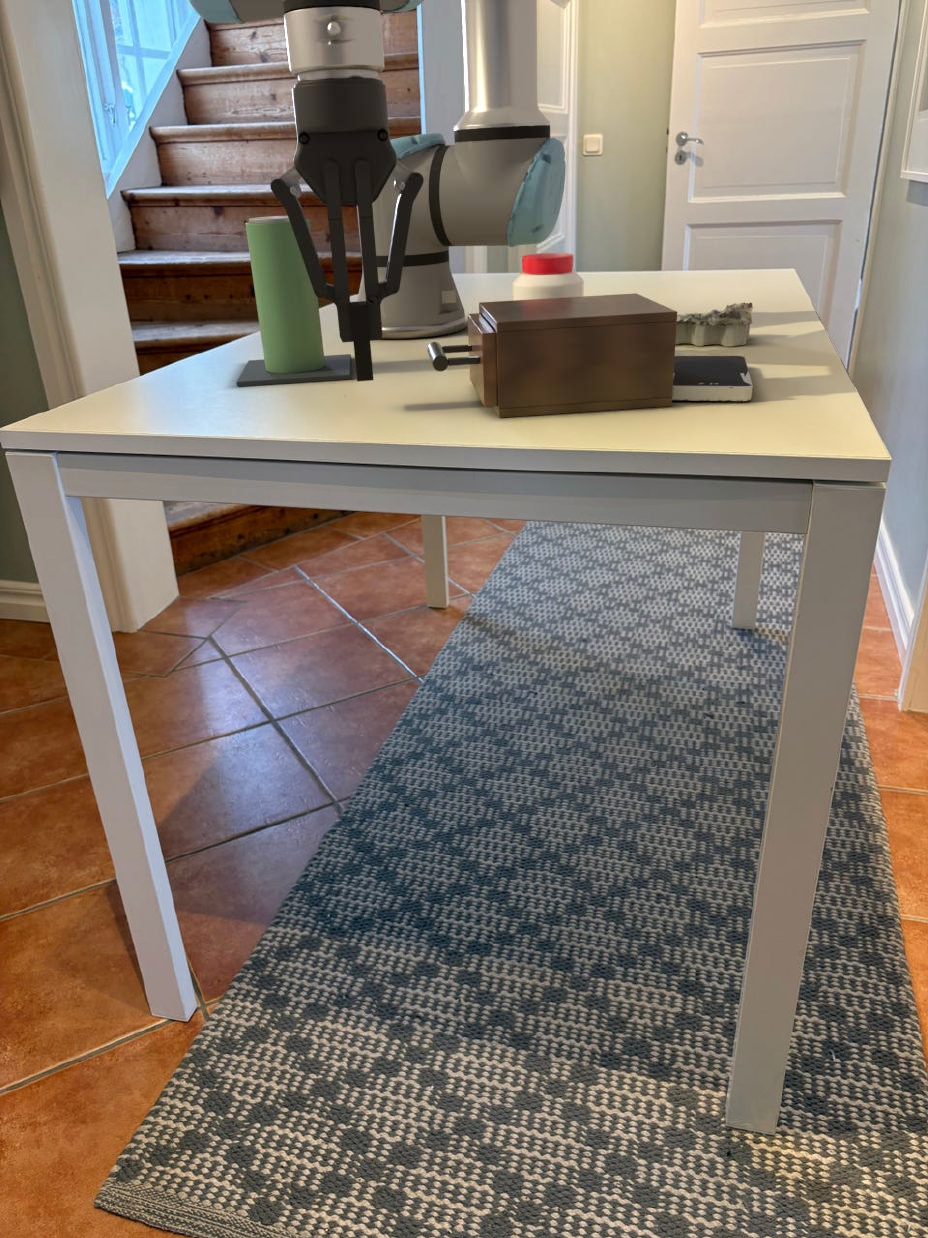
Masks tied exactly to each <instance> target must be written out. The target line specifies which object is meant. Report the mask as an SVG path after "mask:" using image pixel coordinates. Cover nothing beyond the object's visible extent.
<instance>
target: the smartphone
mask: <svg viewBox="0 0 928 1238" xmlns="http://www.w3.org/2000/svg"><path fill="white" fill-rule="evenodd" d="M753 385H754V384H753V382H752V379H751V375H750V372H749V368H748V365H747V361H746V358H745V356H743V355H675V359H674V375H673V391H672V401H690V402H691V401H693V402H694V401H698V402H699V401H701V402H704V401H705V402H747V401H751V400H752V395H753Z"/></svg>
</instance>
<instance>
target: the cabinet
mask: <svg viewBox="0 0 928 1238" xmlns="http://www.w3.org/2000/svg"><path fill="white" fill-rule="evenodd" d="M478 313H480V314H481V316H482V317H483V318H484V319H485V320H486V322H487V323H488V324H489V325H490V326H491V327H492V329H493V330H494V331H495V330H496V359H497V400H498V406H492V408H493V410H494V412H495V413H496V415H497V417H498V418H499V419H502V418H517V417H529V416H544V415H547V416H548V415H560V414H561V415H562V414H575V413H591V412H604V411H619V410H633V409H649V408H650V409H651V408H662V407H664V408H665V407H672V405H673V400H672V391H673V375H674V359H675V356H676V345H677V344H676V328H677V316H678V311H677V310H674V309H672V308H670V307H668V306H665V305H663V304H661V303H659V302H657V301H655V300H652V299H650V298H648V297H646V296H643V295H641V294H639V293H619V294H603V295H602V294H601V295H588V296H587V295H584V296H583V297H566V298H548V299H531V300H514V301H512V300H499V301H484V302H483V301H482V302H478Z"/></svg>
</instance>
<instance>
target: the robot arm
mask: <svg viewBox="0 0 928 1238" xmlns="http://www.w3.org/2000/svg"><path fill="white" fill-rule="evenodd" d="M424 1H425V0H188V3H189V4H190V6H191V7H192V9H193V10H194V12H196V13H197V15H198V16H200V18H202V19H203V20H205V21H207V22H209V23H212V24H230V23H231V24H233V23H238V24H239V25H243V24H245V23H248V22H256V21H264V20H265V21H266V20H274V19H280V18H283V22H284V30H285V31H284V32H285V39H286V48H287V56H288V58H287V59H288V65H289V66H288V67H289V72H290V73H291V74H292V75H293V76H294V77H297V82H296V83H294V84H293V87H292V88H291V94H292V95H291V96H292V104H293V113H294V121H295V131H296V138H297V139H296V140H297V144H296V149H295V152H294V155H293V160H292V161H293V166H291V167H290V168H289V169H288V170H286V171H285V172H284V173H283V174H282V175H281V176H280V177H279V178H275V179H272V181H271V182H270V191H271V192H272V193H273V195H274V196H275V198H276V199H277V200H278V201H279V203H280V204H281V205H282V207H283V208H284V209H285V211H286V214H287V215H286V216H288V218H289V221H290V223H291V226H292V229H293V232H294V235H295V238H296V241H297V244H298V247H299V249H300V252H301V255H302V258H303V261H304V264H305V267H306V270H307V273H308V276H309V278H310V281H311V284H312V287H313V290H314V293H315V295H316V296H317V297H318V299H323V300H326V301H329V302H331V303H333V304H334V305H335V307H336V312H337V313H336V314H337V322H338V332H339V333H338V334H339V338H340V340H341V342H342V343H353V352H354V363H355V364H354V365H355V373H356V374H355V375H356V382H370V381H374V371H373V369H374V367H373V358H372V347H371V346H372V345H371V341H381V339H417V338H428V337H436V336H443V335H448V334H452V333H456V332H459V331H462V330H463V329H465V328H466V326H467V325H466V323H467V322H466V313H465V308H464V305H463V302H462V299H461V296H460V294H459V291H458V288H457V285H456V283H455V279H454V277H453V274H452V271H451V267H450V265H451V264H450V247H493V246H494V247H497V246H499V247H500V246H501V247H502V246H505V247H506V246H508V247H509V248H514V247H517V246H526V245H527V246H528V245H537V244H541V243H543V242H545V241H546V240H547V239H548V238H549V237H550V235H551V234H552V233H553V231H554V229H555V226H556V224H557V221H558V218H559V215H560V212H561V208H562V203H563V197H564V192H565V191H564V190H565V183H566V169H567V167H566V151H565V147H564V145H563V142H562V141H561V140H560V139H557V138H556V137H551V121H550V120H549V118H547V117H546V116H545V114H544V113H542V111H541V110H540V109H539V105H538V8H537V7H538V3H537V2H538V0H461V19H462V37H463V38H462V45H463V65H464V66H463V68H464V94H465V95H464V97H465V111H464V114H463V115H462V116H461V118H460V119H459V120H458V121H457V123H456V124H455V125H454V127H453V135H454V136H453V137H454V144H449V145H448V144H447V143H446V140H445V137H444V136H443V134H442V133H440V132H429V133H421V134H420V133H419V134H416V135H410V136H409V135H407V136H402V137H398V138H393V139H391V138H390V128H389V127H390V126H389V113H388V99H387V85H386V84H384V81H383V80H382V79H379V78H378V74H381V73H382V72H383V71H384V69H385V55H384V54H385V53H384V41H383V28H382V16H381V15H382V13H381V12H383V13H385V14H389V13H393V12H395V13H406V12H409V11H412V10H414V9H416V8H417V7H418V6H420V5H421V4H422V3H424ZM301 179H302V180H303V181H304V182H305V184H306V185H307V186H308V188H309V189H310V190H311V191H312V193H313V194H314V195H315V197H316V198H317V199H318V200H319V202H320V203H322V204H323V205H325V206H326V211H327V220H328V221H327V223H328V233H329V241H330V242H329V243H330V252H331V263H332V272H333V273H332V274H333V282H334V283H333V284H331V283H329V282H328V281H327V278H326V275H325V272H324V269H323V266H322V263H321V261H320V257H319V255H318V252H317V248H316V246H315V243H314V240H313V237H312V233H310V232H311V229H310V230H309V227H308V225H307V222H306V216H305V213H304V210H303V208H302V205H301V203H300V201H299V198H300V197H301V196H302V192H303V191H302V187H301V185H300V180H301ZM349 205H351V206H356V211H357V212H356V213H357V222H358V234H359V244H360V254H361V255H360V256H361V266H362V267H361V268H362V275H361V279H360V280H361V281H360V285H359V290H358V294H357V299H356V301H351V296H350V285H349V273H348V263H347V262H348V261H347V252H346V239H345V228H344V217H343V207H345V206H349Z"/></svg>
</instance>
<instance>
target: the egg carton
mask: <svg viewBox="0 0 928 1238" xmlns="http://www.w3.org/2000/svg"><path fill="white" fill-rule="evenodd" d="M753 308H754V307H753V302H740V303H732V304H728V305H727V304H726V306H725V308H724V309H723V310H718V309H712V310H711V311H710V312H705V313H701V312H693V313H684V314H678V315H677V328H676V344H675V345H679V344H689V345H690V344H691V345H694V346H697V347H704V346H707V345H708V346H709V345H721V346H724V347H725V348H727V347H736V346H745V345H746V344H747V341H748V340H749V339H750V330H751V325H753V319H752V312H753V310H754V309H753Z"/></svg>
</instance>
